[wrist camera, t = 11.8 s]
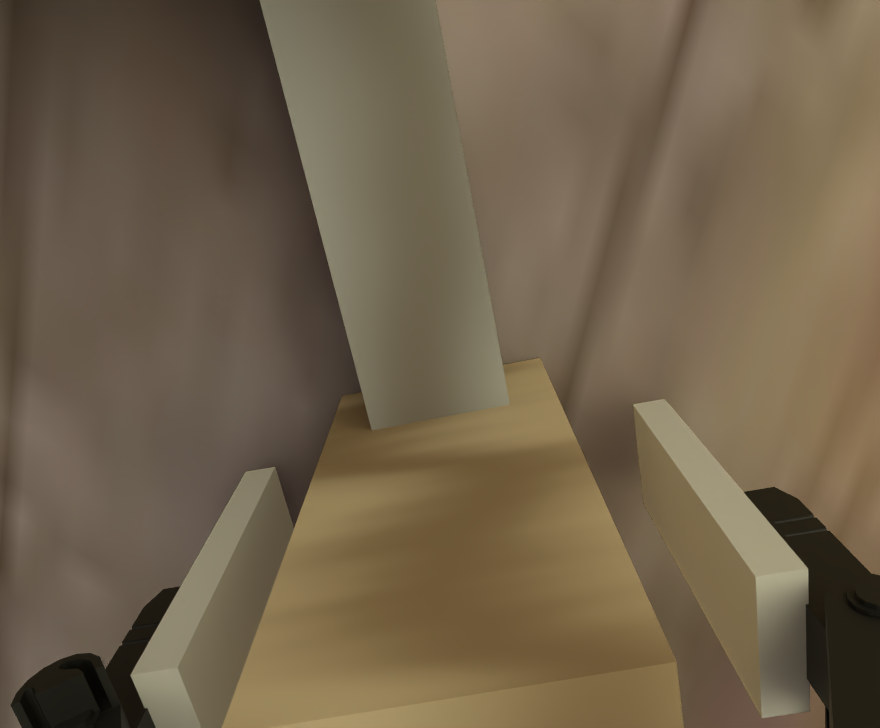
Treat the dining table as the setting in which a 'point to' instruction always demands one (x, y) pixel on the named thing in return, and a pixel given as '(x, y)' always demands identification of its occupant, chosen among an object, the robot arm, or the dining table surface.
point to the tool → (433, 443)
